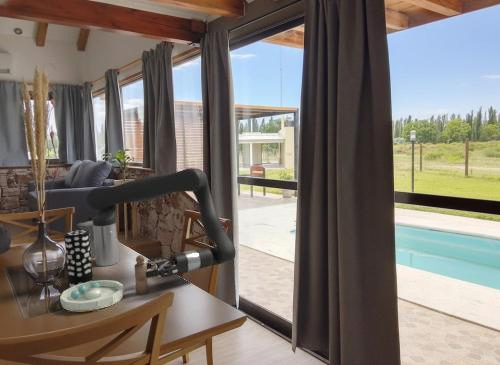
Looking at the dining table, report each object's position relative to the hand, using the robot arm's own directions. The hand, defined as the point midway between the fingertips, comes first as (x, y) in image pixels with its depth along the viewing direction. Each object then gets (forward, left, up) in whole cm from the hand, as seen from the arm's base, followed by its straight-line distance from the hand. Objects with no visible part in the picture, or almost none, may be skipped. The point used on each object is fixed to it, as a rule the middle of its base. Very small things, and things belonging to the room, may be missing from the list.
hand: (141, 271), depth 136 cm
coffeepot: (-35, -46, -8) cm, 58 cm away
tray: (+9, -13, -7) cm, 18 cm away
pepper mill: (0, 0, -8) cm, 8 cm away
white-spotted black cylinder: (-1, -26, -8) cm, 27 cm away
